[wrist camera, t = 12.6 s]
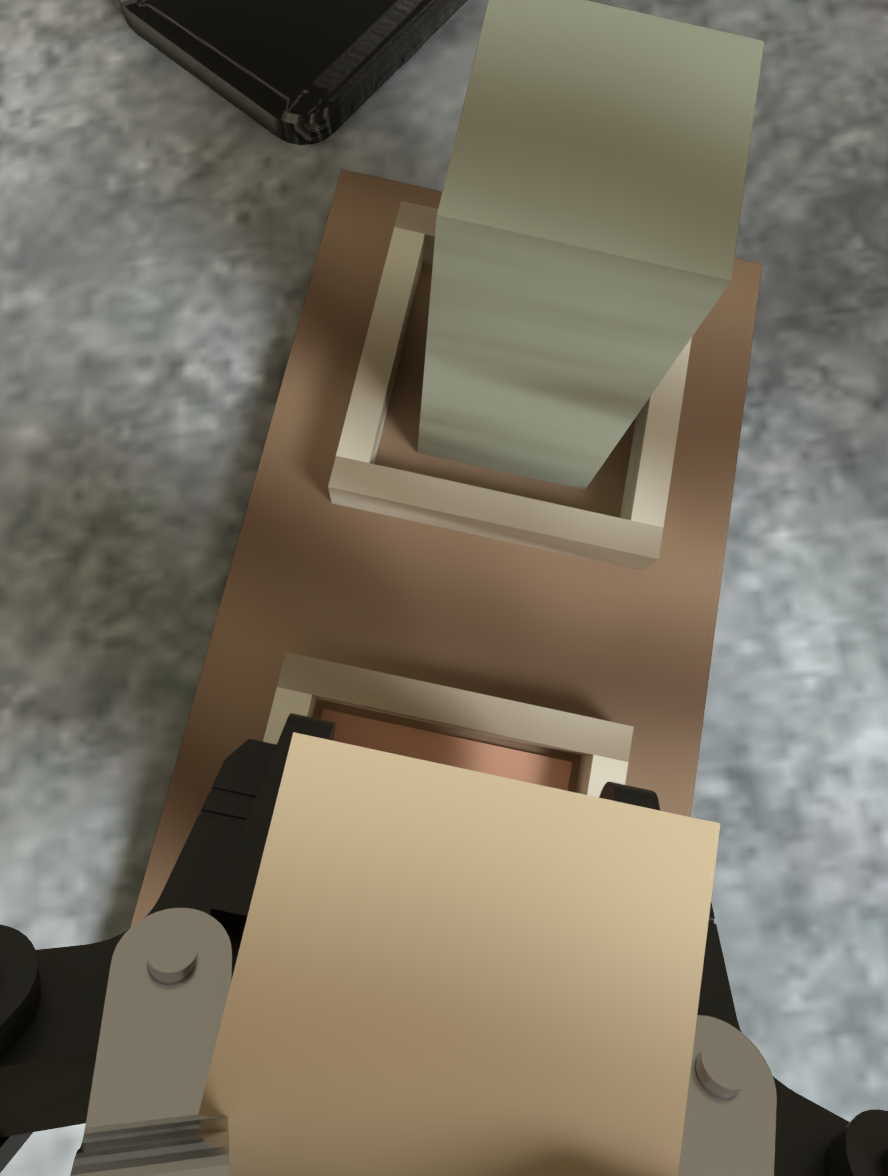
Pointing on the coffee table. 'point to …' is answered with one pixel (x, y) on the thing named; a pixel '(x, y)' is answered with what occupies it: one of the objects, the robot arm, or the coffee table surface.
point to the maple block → (461, 977)
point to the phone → (290, 52)
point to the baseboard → (457, 575)
